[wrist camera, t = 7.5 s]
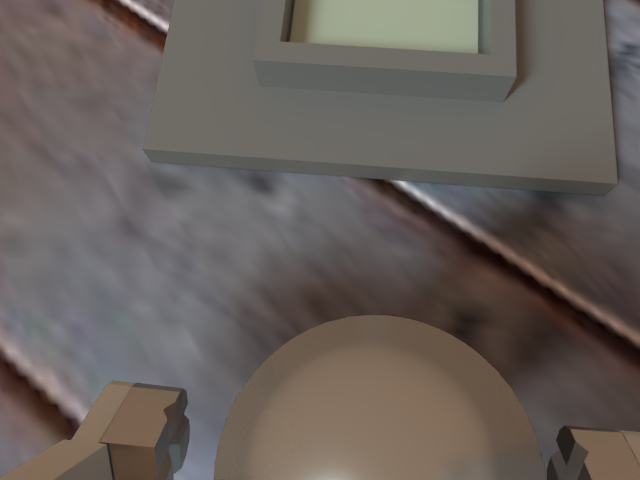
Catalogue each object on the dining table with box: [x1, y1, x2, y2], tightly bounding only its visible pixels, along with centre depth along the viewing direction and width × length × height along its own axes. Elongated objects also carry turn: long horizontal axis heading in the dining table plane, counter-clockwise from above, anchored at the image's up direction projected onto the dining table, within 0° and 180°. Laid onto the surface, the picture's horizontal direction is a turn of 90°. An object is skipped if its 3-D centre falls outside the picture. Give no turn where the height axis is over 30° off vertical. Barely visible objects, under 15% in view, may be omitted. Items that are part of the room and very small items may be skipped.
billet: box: [214, 315, 546, 480], centre depth 12 cm, size 4×4×10 cm
